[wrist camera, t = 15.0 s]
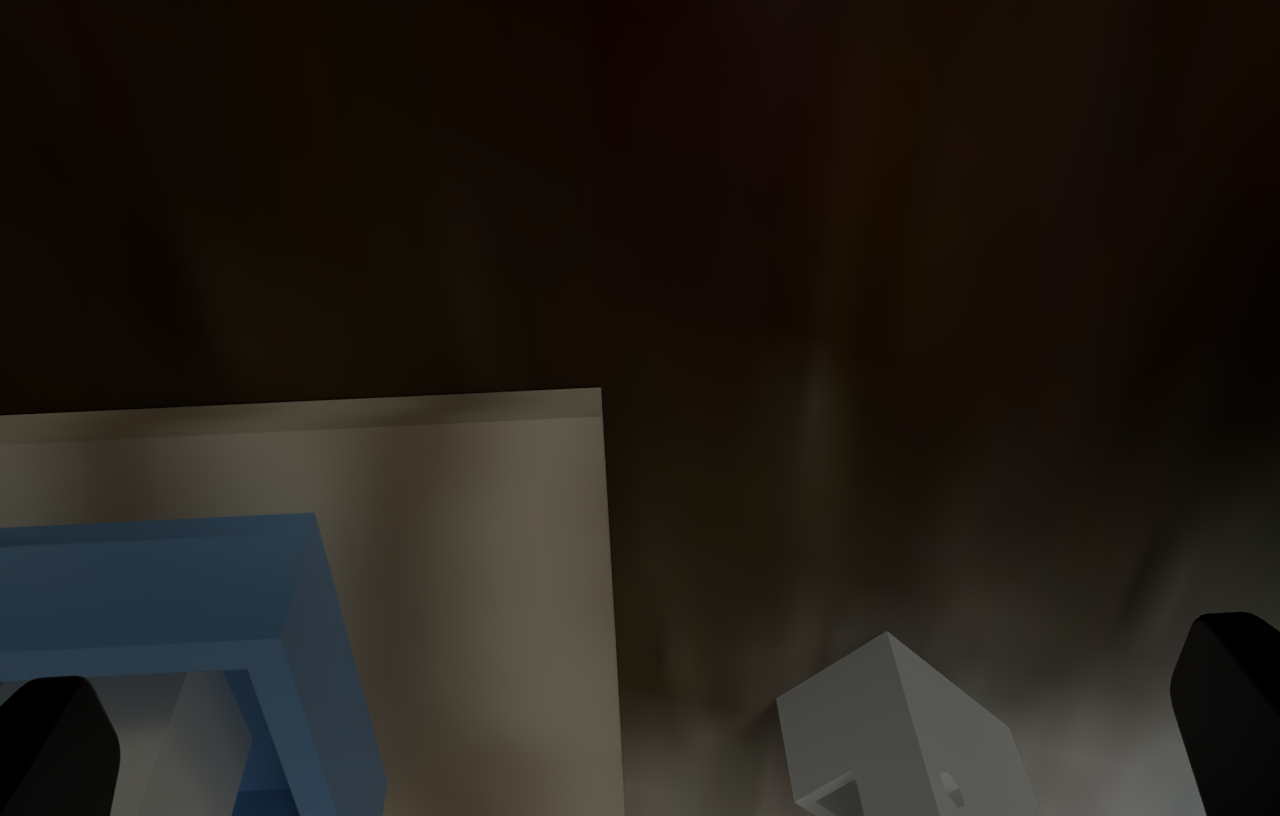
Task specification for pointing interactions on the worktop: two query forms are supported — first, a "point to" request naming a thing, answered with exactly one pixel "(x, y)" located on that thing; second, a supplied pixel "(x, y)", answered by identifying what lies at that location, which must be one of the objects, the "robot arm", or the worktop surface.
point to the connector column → (172, 742)
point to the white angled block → (897, 742)
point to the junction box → (207, 638)
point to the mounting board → (402, 565)
